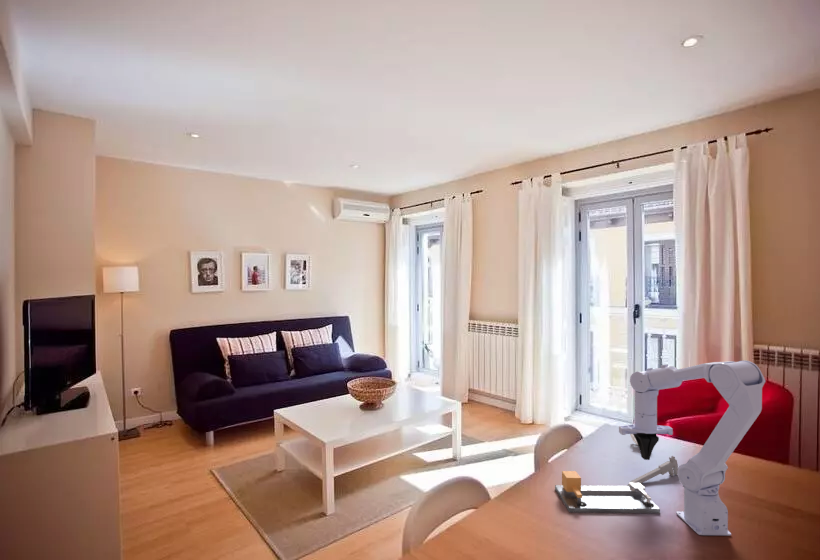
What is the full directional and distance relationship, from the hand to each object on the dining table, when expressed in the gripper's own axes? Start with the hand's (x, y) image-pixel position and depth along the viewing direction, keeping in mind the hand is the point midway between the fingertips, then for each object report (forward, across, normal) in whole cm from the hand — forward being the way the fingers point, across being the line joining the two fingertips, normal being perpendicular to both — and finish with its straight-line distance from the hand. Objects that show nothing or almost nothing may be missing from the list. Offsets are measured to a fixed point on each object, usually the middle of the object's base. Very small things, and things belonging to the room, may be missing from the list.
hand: (645, 458), depth 123 cm
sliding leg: (+8, +23, +5) cm, 25 cm away
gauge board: (+10, +14, +5) cm, 18 cm away
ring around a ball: (+10, -14, -32) cm, 37 cm away
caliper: (+10, -6, -7) cm, 14 cm away
